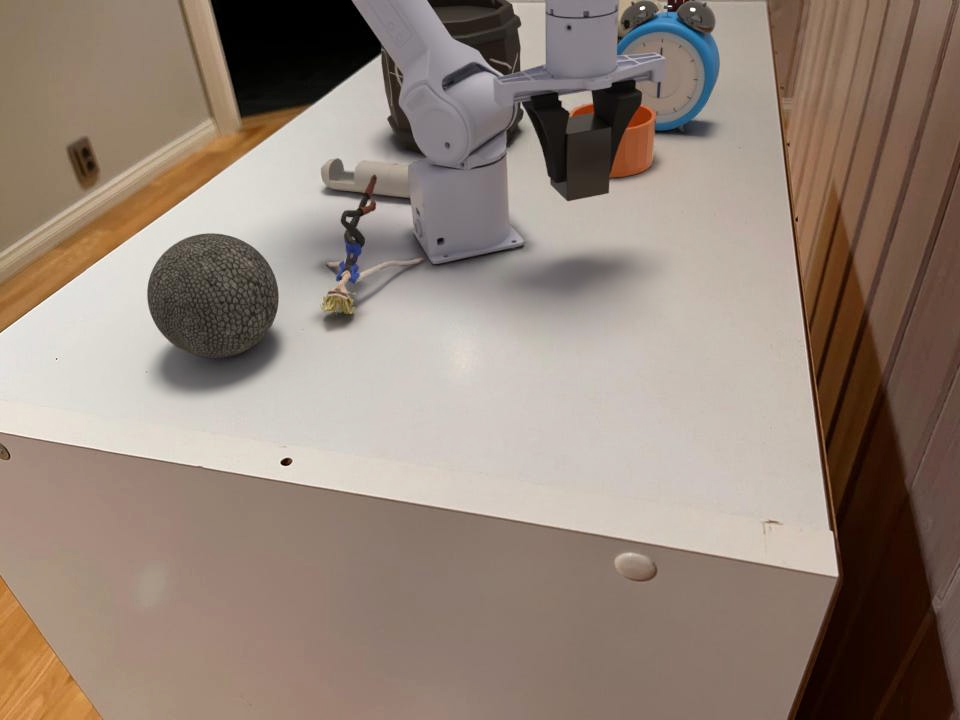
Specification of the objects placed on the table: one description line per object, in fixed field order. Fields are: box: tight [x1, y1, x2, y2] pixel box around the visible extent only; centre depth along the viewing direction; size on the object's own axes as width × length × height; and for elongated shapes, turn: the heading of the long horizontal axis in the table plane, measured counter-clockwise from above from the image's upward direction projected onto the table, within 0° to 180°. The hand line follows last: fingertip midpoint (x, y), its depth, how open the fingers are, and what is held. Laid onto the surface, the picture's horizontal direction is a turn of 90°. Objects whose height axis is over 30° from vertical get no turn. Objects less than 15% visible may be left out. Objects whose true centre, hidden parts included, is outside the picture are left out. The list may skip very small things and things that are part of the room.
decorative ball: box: [146, 232, 280, 359], centre depth 62 cm, size 10×10×10 cm
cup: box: [569, 102, 656, 178], centre depth 91 cm, size 10×10×6 cm
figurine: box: [301, 174, 425, 331], centre depth 72 cm, size 10×9×20 cm
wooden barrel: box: [380, 0, 525, 154], centre depth 98 cm, size 18×18×16 cm
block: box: [549, 113, 612, 202], centre depth 68 cm, size 4×4×6 cm
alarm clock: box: [617, 0, 721, 133], centre depth 97 cm, size 13×6×15 cm, turn 69°
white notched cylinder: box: [320, 157, 410, 199], centre depth 86 cm, size 18×5×7 cm, turn 69°
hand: (578, 174), depth 69 cm, fingers closed on block, 4 cm apart
